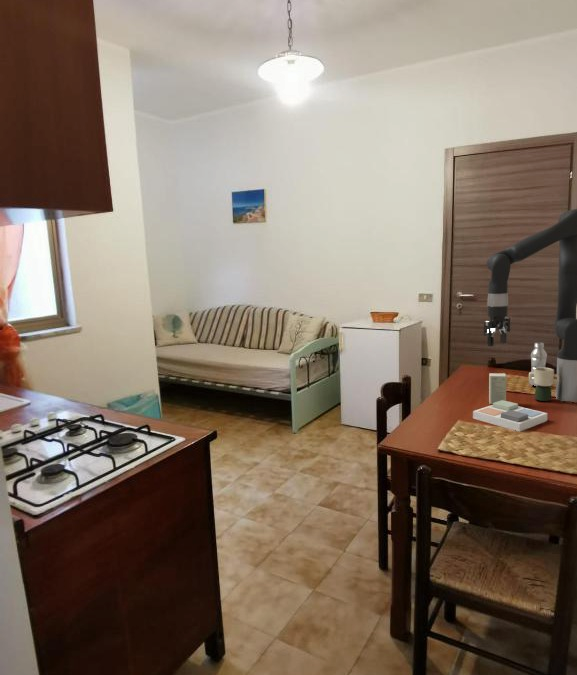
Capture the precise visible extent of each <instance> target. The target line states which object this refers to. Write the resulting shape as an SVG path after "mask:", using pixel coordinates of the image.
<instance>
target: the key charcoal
mask: <svg viewBox="0 0 577 675" xmlns="http://www.w3.org/2000/svg"><path fill="white" fill-rule="evenodd" d="M501 418H504V419H508V420H511V421H515V422H521V421H524V420H526V419H528V414H525V413H521V412H517V411H513V410H510V411H507V412H504V413H501Z"/></svg>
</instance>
